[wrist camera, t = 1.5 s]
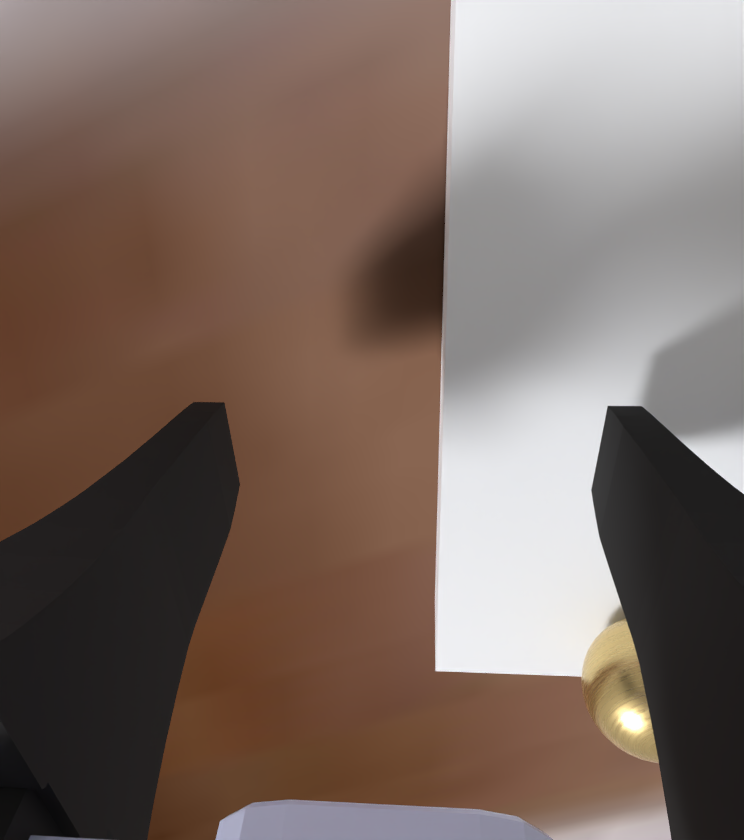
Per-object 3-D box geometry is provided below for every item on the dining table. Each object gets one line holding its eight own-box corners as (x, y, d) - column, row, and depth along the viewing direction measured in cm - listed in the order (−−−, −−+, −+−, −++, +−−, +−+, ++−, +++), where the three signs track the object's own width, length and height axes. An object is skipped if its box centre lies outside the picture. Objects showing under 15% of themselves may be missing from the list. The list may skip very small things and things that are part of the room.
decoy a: (718, 588, 16) (773, 713, 14) (687, 671, 18) (730, 794, 16) (580, 585, 17) (608, 707, 14) (563, 666, 18) (585, 787, 16)
